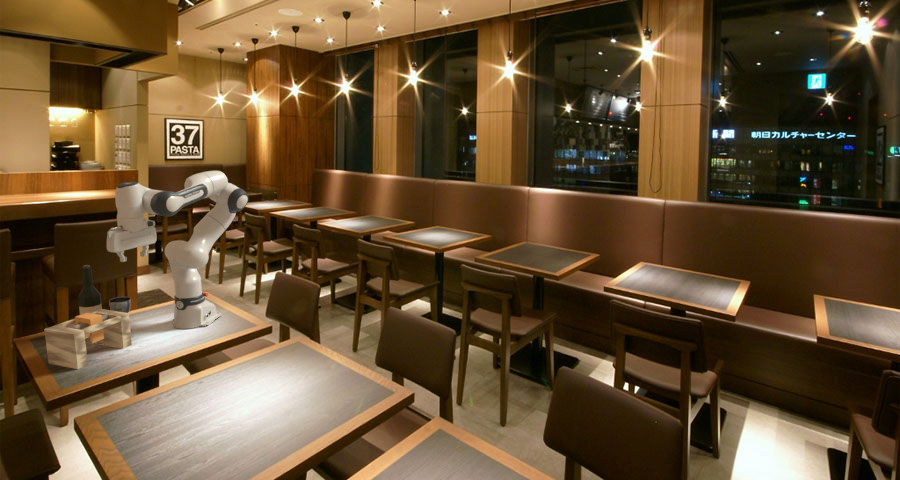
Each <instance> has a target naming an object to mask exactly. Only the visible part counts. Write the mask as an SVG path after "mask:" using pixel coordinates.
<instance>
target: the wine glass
mask: <svg viewBox="0 0 900 480" xmlns="http://www.w3.org/2000/svg"><path fill="white" fill-rule="evenodd" d="M108 303H109V304H108V305H109V308H110V310H111V311H118V312H124V313H129V312H130V310H131V308H132V299H131V297H129V296H116V297H113V298H110V299H109V301H108ZM130 331H131V332H132V331H133V329H132V328H130Z"/></svg>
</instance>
